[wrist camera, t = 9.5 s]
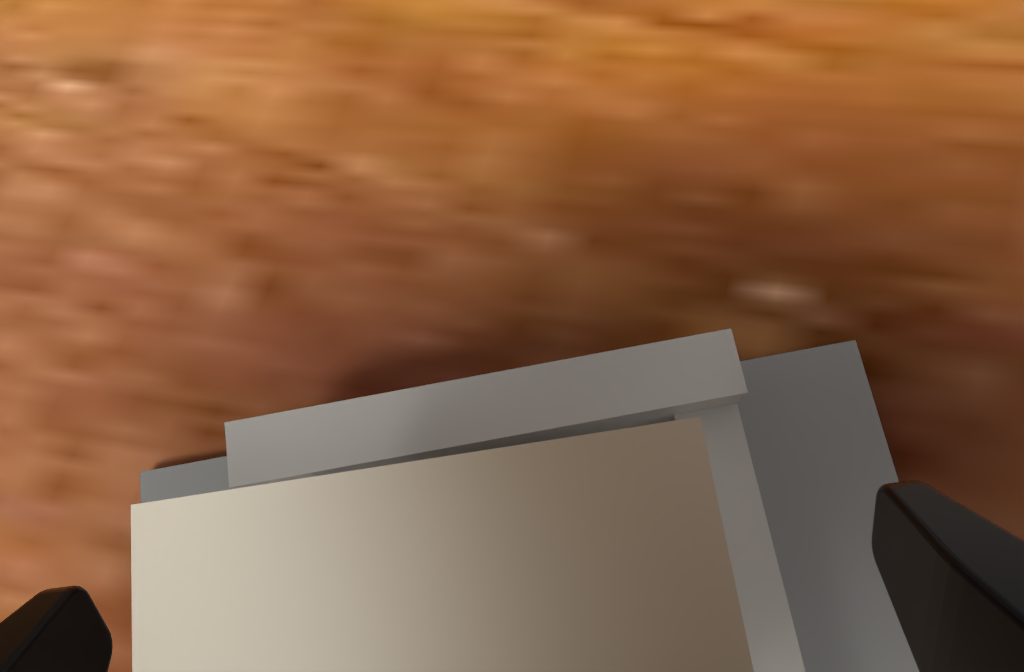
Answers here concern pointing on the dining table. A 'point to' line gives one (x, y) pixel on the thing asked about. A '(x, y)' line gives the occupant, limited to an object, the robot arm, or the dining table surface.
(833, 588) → the keeper bracket
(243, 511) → the link block
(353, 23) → the dining table surface
